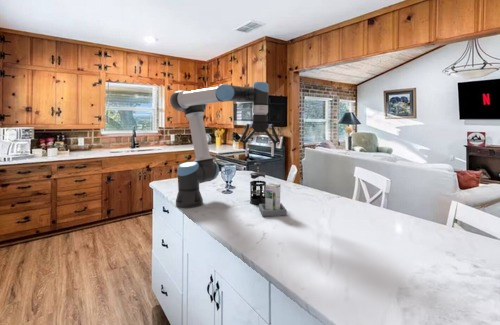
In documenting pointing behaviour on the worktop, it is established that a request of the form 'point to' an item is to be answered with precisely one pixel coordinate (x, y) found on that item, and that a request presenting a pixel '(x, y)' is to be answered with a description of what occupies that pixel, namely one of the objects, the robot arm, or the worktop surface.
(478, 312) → the worktop surface
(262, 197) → the french press
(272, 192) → the syrup box
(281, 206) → the tray
